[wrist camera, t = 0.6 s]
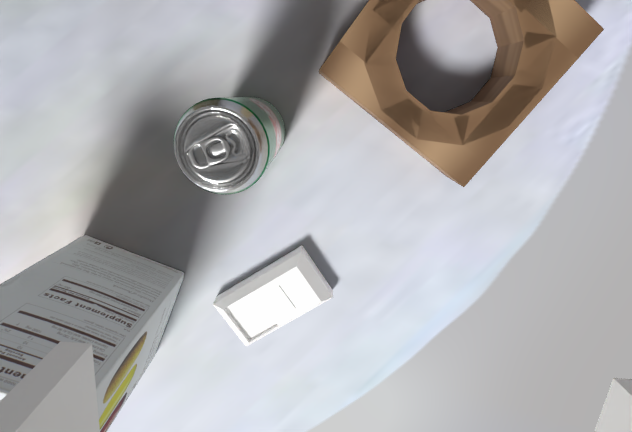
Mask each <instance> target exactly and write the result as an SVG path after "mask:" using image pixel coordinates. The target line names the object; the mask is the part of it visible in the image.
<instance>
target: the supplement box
mask: <svg viewBox="0 0 632 432" xmlns="http://www.w3.org/2000/svg"><path fill="white" fill-rule="evenodd" d="M183 278H184V273H183V272H182V271H179V270H176V269H174V268H171V267H169V266H166V265H163V264H161V263H158V262H156V261H153V260H150V259H148V258H145V257H142V256H140V255H137V254H134V253H132V252H129V251H126V250H124V249H121V248H119V247H116V246H113V245H111V244H108V243H105V242H103V241H100V240H98V239H95V238H92V237H90V236H87V235H84V236H82V237H80V238H78V239H77V240H75V241H73V242H72V243H70V244H68V245H67V246H65V247H63V248H61V249H60V250H58V251H56V252H55V253H53V254H51V255H49V256H47V257H46V258H44V259H42V260H41V261H39V262H37V263H36V264H34V265H32V266H30V267H29V268H27V269H25V270H24V271H22V272H20V273H19V274H17V275H15V276H14V277H12V278H10V279H9V280H7V281H5V282H3V283H2V284H0V401H1V400H2V399H3V398H4V397H5V396H6V395H7V394H8V393H9V392H10V391H11V390H12V389H13V388H14V387H15V386H16V385H17V384H18V383H19V382H20V381H21V380H22V379H23V378H24V377H25V376H26V375H27V374H28V373H29V372H30V371H31V370H32V369H33V368H34V367H35V366H36V365H37V364H38V363H39V362H40V361H41V360H42V359H43V358H44V357H45V356H46V355H47V354H48V353H49V352H50V351H51V350H52V349H53V348H54V347H55V346H56V345H57V344H58V343H59V342H75V343H90V344H92V349H93V360H94V371H95V382H96V393H97V404H98V416H99V427H100V432H107V430H108V428H109V427H110V425H111V424H112V422H113V421H114V419H115V417H116V416H117V414H118V413H119V411H120V409H121V408H122V406H123V405H124V403H125V402H126V400H127V399H128V397H129V396H130V394H131V392H132V391H133V389H134V388H135V386H136V385H137V383H138V381H139V380H140V378H141V377H142V375H143V374H144V372H145V370H146V369H147V367H148V366H149V364H150V363H151V361H152V359H153V358H154V356H155V354H156V351H157V348H158V346H159V343H160V340H161V338H162V335H163V332H164V330H165V327H166V325H167V322H168V319H169V316H170V314H171V311H172V308H173V305H174V303H175V300H176V297H177V295H178V292H179V289H180V286H181V284H182V281H183Z"/></svg>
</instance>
